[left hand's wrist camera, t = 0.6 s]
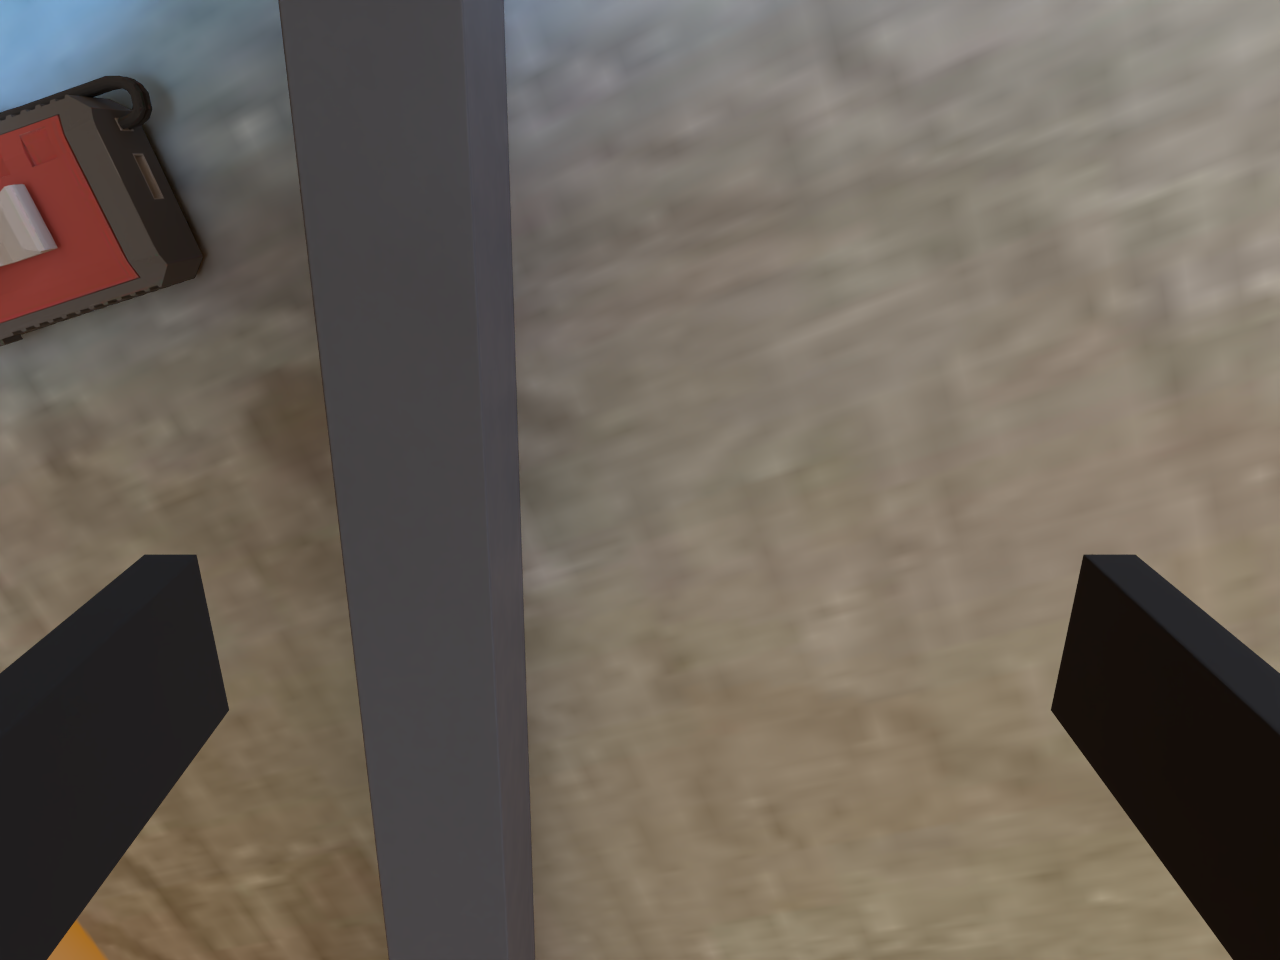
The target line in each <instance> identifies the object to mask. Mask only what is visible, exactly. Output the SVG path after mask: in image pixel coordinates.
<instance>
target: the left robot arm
mask: <svg viewBox="0 0 1280 960" xmlns="http://www.w3.org/2000/svg"><path fill="white" fill-rule="evenodd" d="M228 711H229V707H228V703H227V698H226V693H225V688H224V684H223V679H222V674H221V669H220V665H219V660H218V655H217V650H216V646H215V641H214V636H213V631H212V627H211V622H210V617H209V612H208V608H207V603H206V598H205V593H204V589H203V584H202V579H201V574H200V570H199V565H198V560H197V555H144V556H142V557H141V558H140V559H139V560H138V561H136V562H135V563H134V564H133V565H132V566H130V567H129V568H128V569H127V570H125V571H124V572H123V573H122V574H121V575H119V576H118V577H117V578H116V579H115V580H113V581H112V582H111V583H110V584H108V585H107V586H106V587H105V588H104V589H102V590H101V591H100V592H99V593H98V594H96V595H95V596H94V597H93V598H91V599H90V600H89V601H88V602H87V603H85V604H84V605H83V606H82V607H80V608H79V609H78V610H77V611H76V612H74V613H73V614H72V615H71V616H70V617H68V618H67V619H66V620H65V621H63V622H62V623H61V624H60V625H59V626H57V627H56V628H55V629H54V630H53V631H51V632H50V633H49V634H48V635H46V636H45V637H44V638H43V639H42V640H40V641H39V642H38V643H37V644H36V645H34V646H33V647H32V648H31V649H29V650H28V651H27V652H26V653H25V654H23V655H22V656H21V657H20V658H18V659H17V660H16V661H15V662H14V663H12V664H11V665H10V666H9V667H8V668H6V669H5V670H4V671H3V672H1V673H0V960H47V959H48V957H49V956H50V955H51V953H52V952H53V951H54V949H55V948H56V946H57V945H58V944H59V942H60V941H61V939H62V938H63V937H64V935H65V934H66V933H67V931H68V930H69V929H70V927H71V926H72V925H73V923H74V922H75V920H76V919H77V918H78V916H79V915H80V914H81V912H82V911H83V909H84V908H85V907H86V905H87V904H88V903H89V901H90V900H91V898H92V897H93V896H94V894H95V893H96V892H97V890H98V889H99V888H100V886H101V885H102V883H103V882H104V881H105V879H106V878H107V877H108V875H109V874H110V872H111V871H112V870H113V868H114V867H115V866H116V864H117V863H118V862H119V860H120V859H121V857H122V856H123V855H124V853H125V852H126V851H127V849H128V848H129V846H130V845H131V844H132V842H133V841H134V840H135V838H136V837H137V835H138V834H139V833H140V831H141V830H142V829H143V827H144V826H145V825H146V823H147V822H148V820H149V819H150V818H151V816H152V815H153V814H154V812H155V811H156V809H157V808H158V807H159V805H160V804H161V803H162V801H163V800H164V798H165V797H166V796H167V794H168V793H169V792H170V790H171V789H172V788H173V786H174V785H175V783H176V782H177V781H178V779H179V778H180V777H181V775H182V774H183V772H184V771H185V770H186V768H187V767H188V766H189V764H190V763H191V762H192V760H193V759H194V757H195V756H196V755H197V753H198V752H199V751H200V749H201V748H202V746H203V745H204V744H205V742H206V741H207V740H208V738H209V737H210V735H211V734H212V733H213V731H214V730H215V729H216V727H217V726H218V725H219V723H220V722H221V720H222V719H223V718H224V716H225V715H226V714H227V712H228ZM1051 711H1052V712H1053V714H1054V715H1055V716H1056V718H1057V719H1058V720H1059V722H1060V723H1061V725H1062V726H1063V727H1064V729H1065V730H1066V731H1067V733H1068V734H1069V735H1070V737H1071V738H1072V740H1073V741H1074V742H1075V744H1076V745H1077V746H1078V748H1079V749H1080V751H1081V752H1082V753H1083V755H1084V756H1085V757H1086V759H1087V760H1088V762H1089V763H1090V764H1091V766H1092V767H1093V768H1094V770H1095V771H1096V772H1097V774H1098V775H1099V777H1100V778H1101V779H1102V781H1103V782H1104V783H1105V785H1106V786H1107V788H1108V789H1109V790H1110V792H1111V793H1112V794H1113V796H1114V797H1115V798H1116V800H1117V801H1118V803H1119V804H1120V805H1121V807H1122V808H1123V809H1124V811H1125V812H1126V814H1127V815H1128V816H1129V818H1130V819H1131V820H1132V822H1133V823H1134V825H1135V826H1136V827H1137V829H1138V830H1139V831H1140V833H1141V834H1142V835H1143V837H1144V838H1145V840H1146V841H1147V842H1148V844H1149V845H1150V846H1151V848H1152V849H1153V851H1154V852H1155V853H1156V855H1157V856H1158V857H1159V859H1160V860H1161V862H1162V863H1163V864H1164V866H1165V867H1166V868H1167V870H1168V871H1169V872H1170V874H1171V875H1172V877H1173V878H1174V879H1175V881H1176V882H1177V883H1178V885H1179V886H1180V888H1181V889H1182V890H1183V892H1184V893H1185V894H1186V896H1187V897H1188V898H1189V900H1190V901H1191V903H1192V904H1193V905H1194V907H1195V908H1196V909H1197V911H1198V912H1199V914H1200V915H1201V916H1202V918H1203V919H1204V920H1205V922H1206V923H1207V925H1208V926H1209V927H1210V929H1211V930H1212V931H1213V933H1214V934H1215V935H1216V937H1217V938H1218V940H1219V941H1220V942H1221V944H1222V945H1223V946H1224V948H1225V949H1226V951H1227V952H1228V953H1229V955H1230V956H1231V957H1232V959H1233V960H1280V673H1279V672H1277V671H1276V670H1275V669H1274V668H1272V667H1271V666H1270V665H1269V664H1268V663H1266V662H1265V661H1264V660H1263V659H1261V658H1260V657H1259V656H1258V655H1257V654H1255V653H1254V652H1253V651H1252V650H1251V649H1249V648H1248V647H1247V646H1246V645H1244V644H1243V643H1242V642H1241V641H1240V640H1238V639H1237V638H1236V637H1235V636H1234V635H1232V634H1231V633H1230V632H1229V631H1227V630H1226V629H1225V628H1224V627H1223V626H1221V625H1220V624H1219V623H1218V622H1217V621H1215V620H1214V619H1213V618H1212V617H1210V616H1209V615H1208V614H1207V613H1206V612H1204V611H1203V610H1202V609H1201V608H1200V607H1198V606H1197V605H1196V604H1195V603H1193V602H1192V601H1191V600H1190V599H1189V598H1187V597H1186V596H1185V595H1184V594H1182V593H1181V592H1180V591H1179V590H1178V589H1176V588H1175V587H1174V586H1173V585H1172V584H1170V583H1169V582H1168V581H1167V580H1165V579H1164V578H1163V577H1162V576H1161V575H1159V574H1158V573H1157V572H1156V571H1155V570H1153V569H1152V568H1151V567H1150V566H1148V565H1147V564H1146V563H1145V562H1144V561H1142V560H1141V559H1140V558H1139V557H1138V556H1136V555H1083V560H1082V565H1081V570H1080V574H1079V579H1078V584H1077V589H1076V593H1075V598H1074V603H1073V608H1072V612H1071V617H1070V622H1069V627H1068V631H1067V636H1066V641H1065V646H1064V650H1063V655H1062V660H1061V665H1060V669H1059V674H1058V679H1057V684H1056V688H1055V693H1054V698H1053V703H1052V707H1051Z"/></svg>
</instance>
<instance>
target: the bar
mask: <svg viewBox="0 0 1280 960" xmlns="http://www.w3.org/2000/svg"><path fill="white" fill-rule="evenodd" d="M278 1H279V10H280V18H281V27H282V36H283V44H284V53H285V62H286V70H287V79H288V88H289V96H290V105H291V114H292V122H293V131H294V140H295V148H296V157H297V166H298V174H299V183H300V192H301V200H302V209H303V218H304V227H305V235H306V244H307V253H308V261H309V270H310V279H311V287H312V296H313V305H314V313H315V322H316V331H317V339H318V348H319V357H320V365H321V374H322V383H323V391H324V400H325V409H326V417H327V426H328V435H329V443H330V452H331V461H332V469H333V478H334V487H335V495H336V504H337V513H338V521H339V530H340V539H341V548H342V556H343V565H344V574H345V582H346V591H347V600H348V608H349V617H350V626H351V634H352V643H353V652H354V660H355V669H356V678H357V686H358V695H359V704H360V712H361V721H362V730H363V738H364V747H365V756H366V764H367V773H368V782H369V790H370V799H371V808H372V816H373V825H374V834H375V843H376V851H377V860H378V869H379V877H380V886H381V895H382V903H383V912H384V921H385V929H386V938H387V947H388V955H389V960H535V944H534V913H533V883H532V852H531V822H530V791H529V761H528V730H527V700H526V669H525V639H524V609H523V578H522V548H521V517H520V487H519V456H518V426H517V395H516V365H515V334H514V304H513V274H512V243H511V213H510V182H509V152H508V121H507V91H506V60H505V30H504V0H278Z"/></svg>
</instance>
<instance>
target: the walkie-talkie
mask: <svg viewBox="0 0 1280 960" xmlns="http://www.w3.org/2000/svg"><path fill="white" fill-rule="evenodd" d="M117 89H125V90H127V91H128V92H129V93H130V95H131V98H132V102H133V108H132V110H130V109H128V108H126V107H124V106H122V105H120V104H118V103H116V102H114V101H112V100H110V99H103V98H93V97H95V96H98V95H101V94H104V93H107V92H109V91H112V90H117ZM151 111H152V106H151V102H150V97H149V93H148V91H147V90H146V89H145V87H144V86H143V85H142V84H141V83H139V82H138V81H136V80H135V79H131V78H128V77H121V76H104V77H102V78H99V79H96V80H93V81H90V82H88V83H85V84H82V85H79V86H76V87H74V88H71V89H68V90H65V91H62V92H59V93H57V94H54V95H51V96H48V97H45V98H42V99H40V100H37V101H34V102H31V103H28V104H25V105H23V106H20V107H17V108H13V109H10V110H7V111H4V112H1V113H0V346H3V345H6V344H9V343H12V342H15V341H18V340H21V339H23V338H22V337H21V334H24V333H27V332H30V331H33V330H36V329H39V328H43V327H46V326H49V325H52V324H55V323H57V322H60V321H64V320H67V319H69V318H73V317H76V316H79V315H81V314H85V313H88V312H92V311H94V310H97V309H101V308H104V307H107V306H109V305H113V304H116V303H119V302H121V301H125V300H129V299H132V298H133V297H137V296H141V295H144V294H146V293H149V292H153V291H156V290H158V289H161V288H165V287H168V286H171V285H174V284H177V283H181V282H184V281H186V280H190V279H193V278H195V276H196V273H197V271H198V268H199V265H200V263H201V260H202V258H203V256H202V253H201V251H200V249H199V247H198V245H197V243H196V241H195V238H194V236H193V234H192V232H191V230H190V228H189V226H188V224H187V221H186V219H185V217H184V215H183V213H182V211H181V209H180V207H179V204H178V202H177V200H176V198H175V196H174V194H173V192H172V190H171V187H170V185H169V183H168V181H167V179H166V177H165V175H164V173H163V170H162V168H161V166H160V164H159V162H158V160H157V158H156V156H155V153H154V151H153V149H152V147H151V145H150V143H149V141H148V138H147V136H146V134H145V132H144V130H143V128H142V126H141V125H143V124H144V123H145V122H146V121H147V120H148V119H149V118H150V115H151Z"/></svg>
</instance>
